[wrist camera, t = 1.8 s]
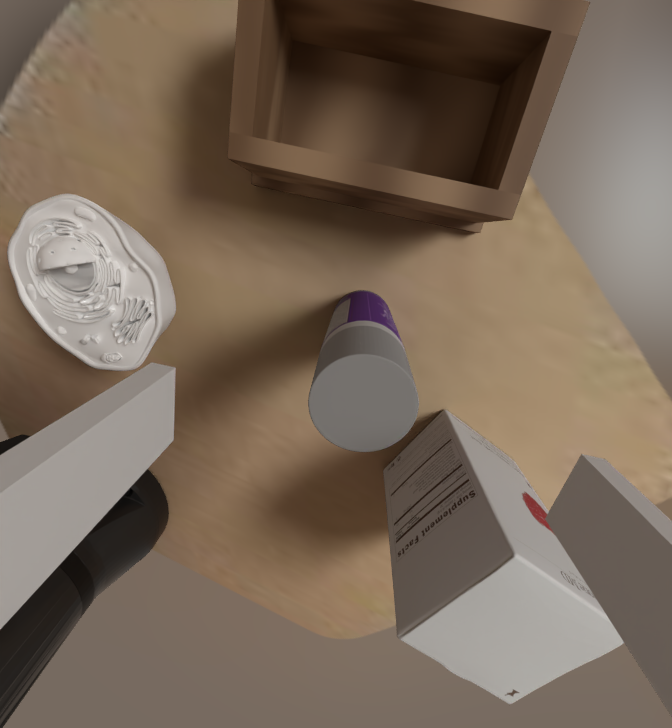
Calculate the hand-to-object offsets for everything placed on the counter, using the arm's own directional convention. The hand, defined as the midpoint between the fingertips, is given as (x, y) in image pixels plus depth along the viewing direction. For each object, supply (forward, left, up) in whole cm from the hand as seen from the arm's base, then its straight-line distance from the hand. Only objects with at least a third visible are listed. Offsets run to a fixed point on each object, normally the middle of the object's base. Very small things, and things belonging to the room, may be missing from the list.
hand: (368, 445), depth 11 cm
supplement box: (+11, -12, -18) cm, 24 cm away
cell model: (-19, -1, -18) cm, 26 cm away
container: (0, 0, -18) cm, 18 cm away
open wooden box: (-2, +13, -18) cm, 22 cm away
